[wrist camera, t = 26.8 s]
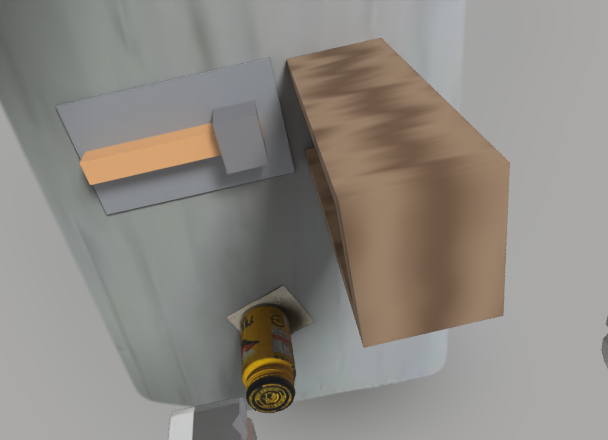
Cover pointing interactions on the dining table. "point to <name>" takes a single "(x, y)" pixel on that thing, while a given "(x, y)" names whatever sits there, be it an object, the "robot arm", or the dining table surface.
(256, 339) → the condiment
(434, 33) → the dining table surface
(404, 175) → the walnut shelf
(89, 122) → the grey mat
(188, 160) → the hammer with orange handle
